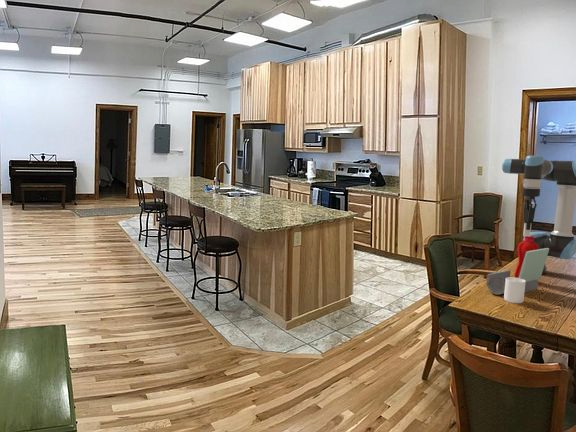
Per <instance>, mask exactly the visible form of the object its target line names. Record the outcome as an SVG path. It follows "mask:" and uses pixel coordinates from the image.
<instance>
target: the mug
mask: <svg viewBox="0 0 576 432" xmlns="http://www.w3.org/2000/svg"><path fill="white" fill-rule="evenodd" d="M487 287H488V290H489V291H490V292H491V294H494V295H502V294H504V292H505V282H504V280H502V279H501V278H492V279H491V280H490V281H489V282H488V286H487Z"/></svg>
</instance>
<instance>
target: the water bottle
mask: <svg viewBox="0 0 576 432" xmlns="http://www.w3.org/2000/svg"><path fill="white" fill-rule="evenodd" d="M523 239H524V238H523ZM533 241H534V236H530V237H529V236H525V239H524V241H523V240H522V241H520V242H519V243H518V246H517V247H516V250H517V257H518V263H517V265H516V268H515V271H514V276H513V277H515V278H519V275H520V271H521V268H522V264H523V261H524V257H525V254H526V252H527V251H532V250H538V249H539V247H538V245H537V244H536V243H535V242H533Z"/></svg>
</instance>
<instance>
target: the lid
mask: <svg viewBox="0 0 576 432" xmlns="http://www.w3.org/2000/svg"><path fill="white" fill-rule="evenodd" d="M548 252H549V248H544V249H538V250H532V251H527V252H526V254H525V257H524V261H523V264H522V268H521V271H520V275H519V278H520V279H523V280H525V281H526V282H528V281H532V280H537V279H538V280H541V278H542V275H543V274H542V271H543V268H544V265H546V262H547V261H546V260H547V258H548V256H547V255H548Z"/></svg>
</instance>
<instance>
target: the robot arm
mask: <svg viewBox="0 0 576 432" xmlns="http://www.w3.org/2000/svg"><path fill="white" fill-rule="evenodd" d="M501 169H502V172H503V173H504V174H509V175H510V174H512V175H513V174H515V175H523V180H522V181H521V182H522V186H523V188H522V192H521V195H522V196H523V197H525V199H524V200H523V217H522V218H523V219H522V220H523V224H524V226H523V235H522V236H523V239H522V242H523V241H524V239H525V236H529V237H530V236H534V241H533V242H535V243H536V244H537V245H538V247H539V249H544V248H549V252H548V255H547V257H550V258H551V257H552V258H557V259H560V260H570V259H572V258H573V257H574V255H575V253H576V238H575V234H573V232H572V231H573V225H574V218H575V217H574V216H575V208H576V160H548V159H545V158H544V156H543V155H527V156H526V157H525V159H524V158H523V159H522V158H505V159H504V160H503V162H502V165H501ZM542 180H543V181H549V182H555V184H556V186H557V187H558V195H557V203H556V211H555V217H554V225H553V226H554V227H553V230H552V231H551V232H550V233H549V235H548V232H546V231H545V232H544V231H532V224H533V223H534V218H535V215H536V209H537V206H538V205H537V202H536V201H537V200H536V197H540V196H541V189H540V188H541V187H542ZM546 273H547V265H546V264H545V265H544V268H543V271H542V275H544V274H546Z"/></svg>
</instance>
